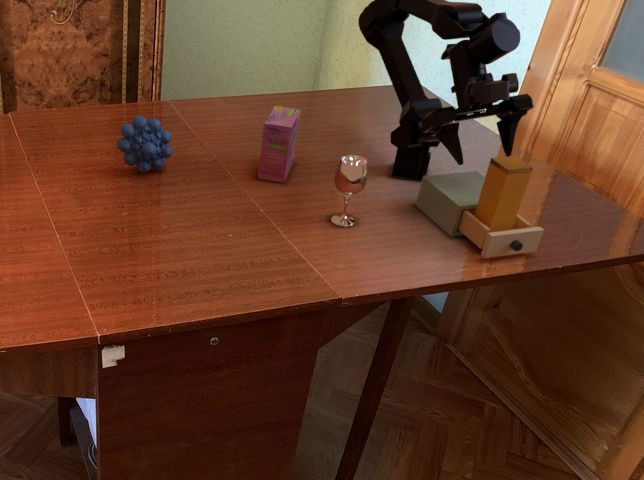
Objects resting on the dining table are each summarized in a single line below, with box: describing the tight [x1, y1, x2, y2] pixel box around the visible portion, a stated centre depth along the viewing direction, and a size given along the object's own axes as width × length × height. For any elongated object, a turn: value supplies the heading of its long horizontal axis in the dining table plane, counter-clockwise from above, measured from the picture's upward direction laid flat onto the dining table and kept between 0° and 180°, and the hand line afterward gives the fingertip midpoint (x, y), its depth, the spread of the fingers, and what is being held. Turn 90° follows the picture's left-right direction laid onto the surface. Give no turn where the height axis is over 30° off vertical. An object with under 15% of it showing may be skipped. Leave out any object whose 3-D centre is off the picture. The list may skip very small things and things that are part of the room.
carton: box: [474, 155, 534, 233], centre depth 131 cm, size 5×5×13 cm
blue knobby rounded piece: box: [116, 114, 173, 173], centre depth 151 cm, size 12×7×12 cm, turn 110°
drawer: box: [457, 208, 545, 259], centre depth 133 cm, size 13×10×4 cm
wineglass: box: [330, 154, 369, 227], centre depth 137 cm, size 6×6×12 cm
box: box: [257, 105, 301, 184], centre depth 154 cm, size 10×6×12 cm, turn 163°
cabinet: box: [415, 170, 486, 238], centre depth 141 cm, size 13×12×6 cm
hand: (485, 160), depth 136 cm, fingers open, 9 cm apart
